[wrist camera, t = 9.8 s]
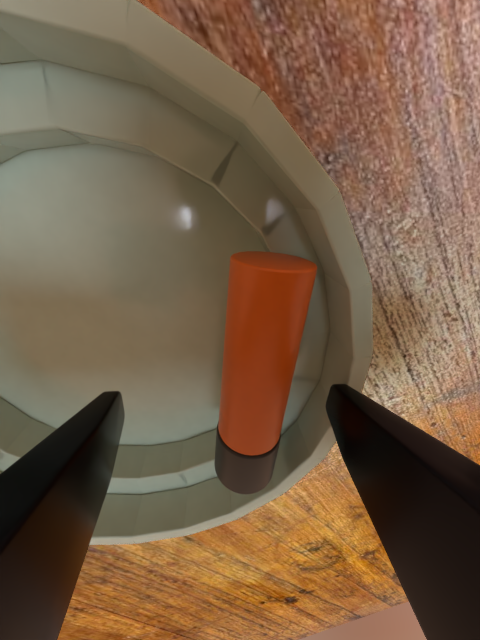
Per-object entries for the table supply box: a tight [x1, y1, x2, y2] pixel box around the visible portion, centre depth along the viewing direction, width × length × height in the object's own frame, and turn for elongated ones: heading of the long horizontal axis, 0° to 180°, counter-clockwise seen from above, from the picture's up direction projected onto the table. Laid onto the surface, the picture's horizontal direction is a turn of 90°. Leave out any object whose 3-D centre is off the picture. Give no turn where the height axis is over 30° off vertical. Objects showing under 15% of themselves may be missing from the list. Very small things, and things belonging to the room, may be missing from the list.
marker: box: [214, 251, 317, 495], centre depth 8 cm, size 8×2×2 cm, turn 175°
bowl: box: [0, 0, 373, 545], centre depth 9 cm, size 16×16×4 cm
